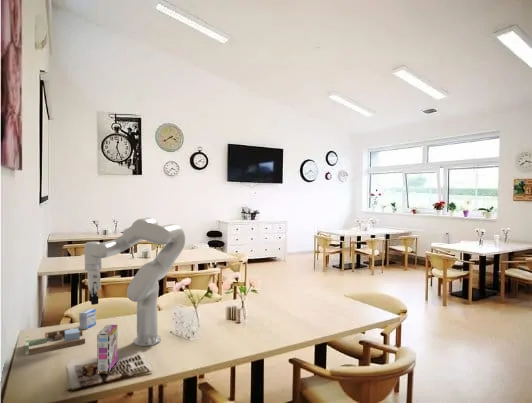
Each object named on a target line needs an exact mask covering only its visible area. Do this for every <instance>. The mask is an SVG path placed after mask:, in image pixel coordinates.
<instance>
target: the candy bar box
mask: <svg viewBox="0 0 532 403" xmlns="http://www.w3.org/2000/svg"><path fill="white" fill-rule="evenodd" d="M96 335H97V336H96V340H97V342H96V343H97V345H96V346H97V348H96V354H97V355H96V356H97V359H96V360H97V361H96V362H97V363H96V364H97V365H96V366H97V368H96V369H97V371H100V372H101V371H110V370H111V368H112V367H113V365H114V364H115V363H116V361H117V362H118V324H106V325H105V326H104V327H103V328H101V330H100V331H99V332H98V333H97V334H96ZM116 364H117V363H116ZM113 368H114V367H113ZM111 371H112V370H111Z"/></svg>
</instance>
